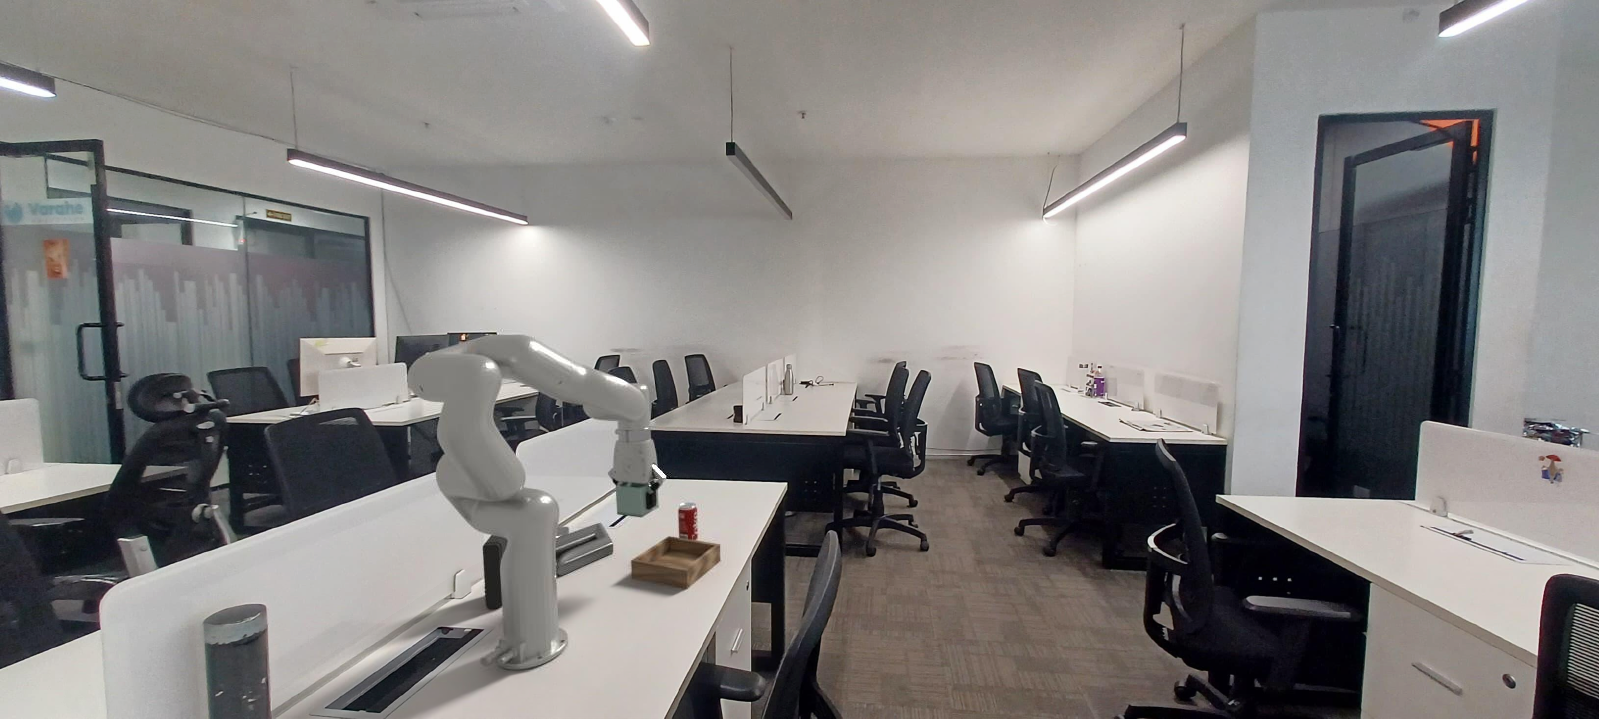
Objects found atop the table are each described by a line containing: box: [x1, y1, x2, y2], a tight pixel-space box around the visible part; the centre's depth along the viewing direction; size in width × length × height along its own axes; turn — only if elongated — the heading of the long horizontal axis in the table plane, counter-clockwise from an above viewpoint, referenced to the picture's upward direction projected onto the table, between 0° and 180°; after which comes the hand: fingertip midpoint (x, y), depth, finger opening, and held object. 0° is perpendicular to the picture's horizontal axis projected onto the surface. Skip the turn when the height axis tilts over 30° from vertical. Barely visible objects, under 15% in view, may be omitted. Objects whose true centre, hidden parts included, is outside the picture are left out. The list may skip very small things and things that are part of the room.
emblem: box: [555, 522, 614, 576], centre depth 148 cm, size 28×5×28 cm
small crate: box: [615, 479, 660, 518], centre depth 133 cm, size 7×7×7 cm
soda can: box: [677, 502, 699, 541], centre depth 152 cm, size 5×5×12 cm
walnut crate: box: [630, 535, 721, 590], centre depth 139 cm, size 16×16×4 cm
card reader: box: [482, 535, 508, 610], centre depth 124 cm, size 9×4×15 cm, turn 14°
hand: (638, 505), depth 133 cm, fingers closed on small crate, 7 cm apart
